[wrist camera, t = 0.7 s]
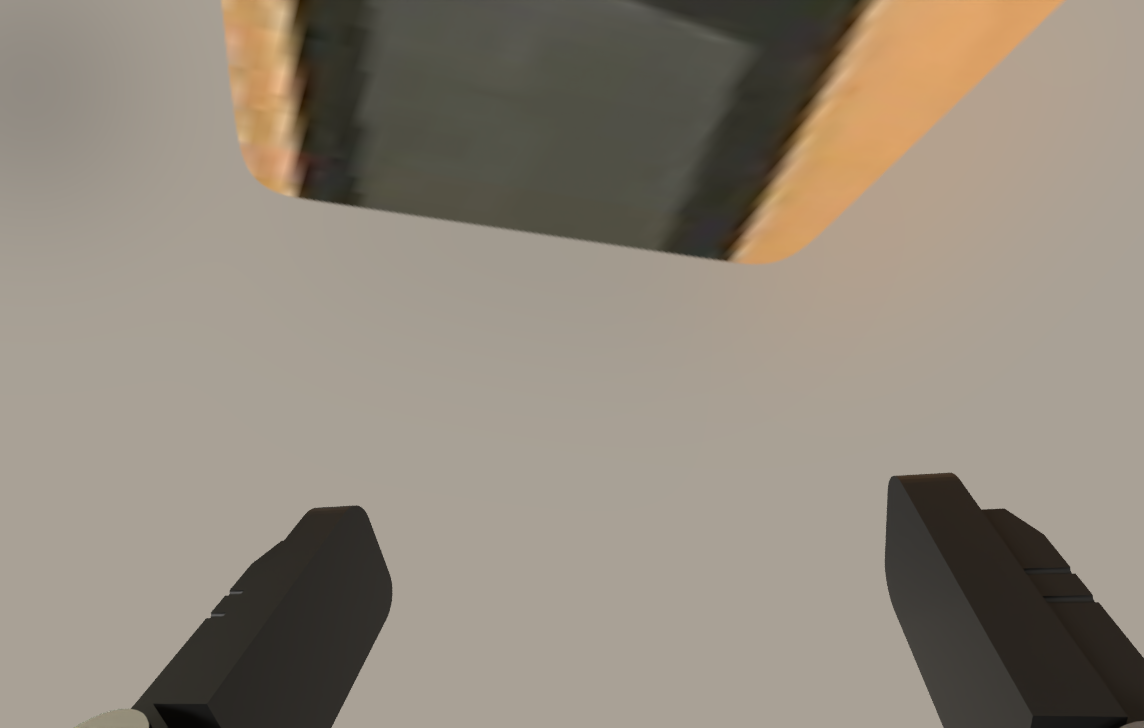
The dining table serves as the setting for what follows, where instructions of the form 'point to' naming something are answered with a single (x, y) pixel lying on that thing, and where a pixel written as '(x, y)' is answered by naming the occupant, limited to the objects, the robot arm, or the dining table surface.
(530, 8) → the dining table surface
